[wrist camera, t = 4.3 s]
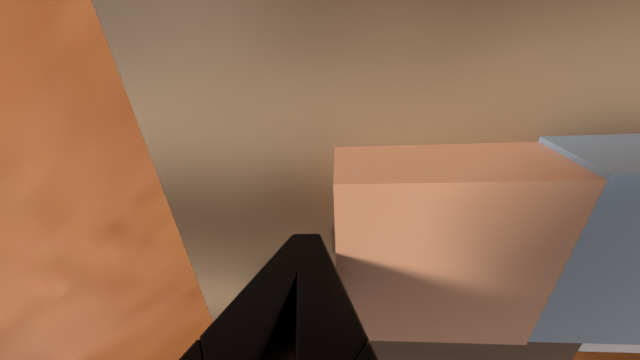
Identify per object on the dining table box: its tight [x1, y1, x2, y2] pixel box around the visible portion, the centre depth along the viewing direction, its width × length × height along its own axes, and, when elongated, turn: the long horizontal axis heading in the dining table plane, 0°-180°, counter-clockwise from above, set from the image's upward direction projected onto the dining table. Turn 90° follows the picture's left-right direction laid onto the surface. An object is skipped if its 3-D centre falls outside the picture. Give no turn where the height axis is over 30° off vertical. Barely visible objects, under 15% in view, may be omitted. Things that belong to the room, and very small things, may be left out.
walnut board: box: [92, 0, 640, 360], centre depth 10 cm, size 16×14×4 cm
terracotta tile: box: [333, 142, 607, 345], centre depth 7 cm, size 5×5×2 cm
